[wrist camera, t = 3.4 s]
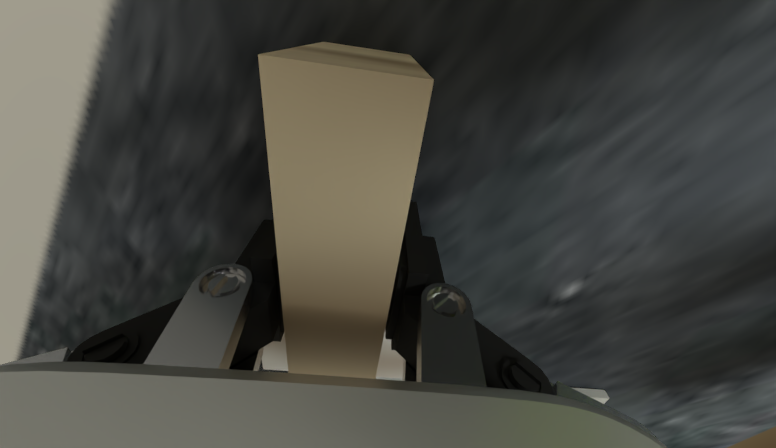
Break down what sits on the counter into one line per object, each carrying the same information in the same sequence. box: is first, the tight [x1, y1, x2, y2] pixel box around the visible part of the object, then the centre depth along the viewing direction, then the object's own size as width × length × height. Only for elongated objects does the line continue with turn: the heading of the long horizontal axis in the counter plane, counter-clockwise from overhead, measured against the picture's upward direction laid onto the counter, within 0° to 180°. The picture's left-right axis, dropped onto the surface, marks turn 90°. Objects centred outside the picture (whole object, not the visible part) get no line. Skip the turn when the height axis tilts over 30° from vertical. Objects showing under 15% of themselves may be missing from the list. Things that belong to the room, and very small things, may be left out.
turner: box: [258, 42, 434, 379], centre depth 10 cm, size 15×8×5 cm, turn 173°
